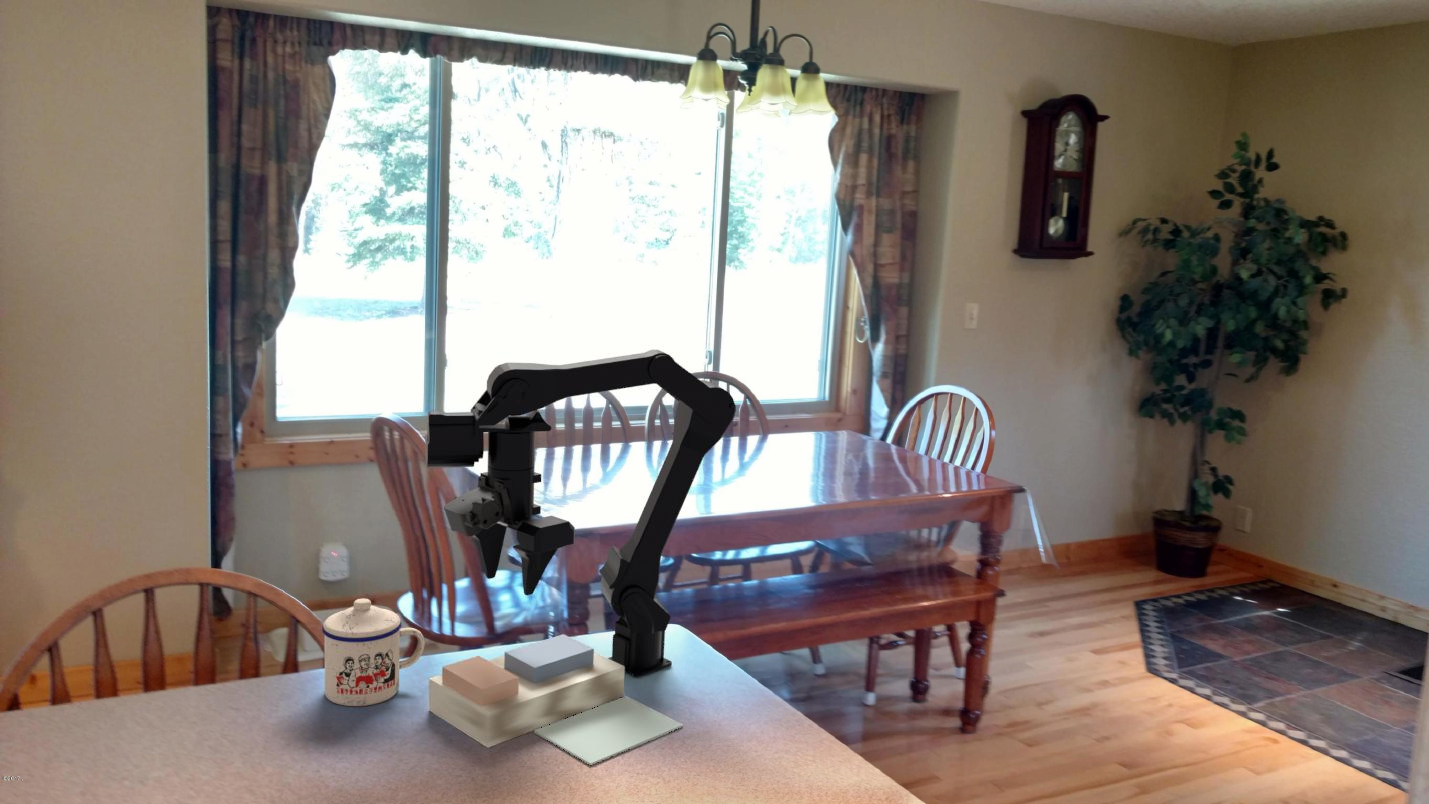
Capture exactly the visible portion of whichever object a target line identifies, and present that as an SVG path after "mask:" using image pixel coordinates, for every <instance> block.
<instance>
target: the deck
mask: <svg viewBox="0 0 1429 804" xmlns="http://www.w3.org/2000/svg"><path fill="white" fill-rule="evenodd" d="M608 658H609V657H605V656H604V655H601V654H600V653H597V652H595V651H594V660H593V664H592V665H589V666H586V667H583V668H580V669H577V670H574V671H571V672H568V673H565V674H562V675H559V676H556V677H553V678H550V679H547V680H544V681H541V682H538V683H535V684H534V683H532V682H530V681H528V680H526V679H524V678H523V677H521V676H519V675H517V674H515V673H513V672H511V671H510V670H508V669H506V668H504V655H502V656H498V657H495V658H492V659H489V660H488V659H487V660H488V661H489V662H491V663H493V664H495V665H497V666H499V667H501V668H502V669H504V670H506V671H508V672H510V673H512V674H513V675H515V676H517V677H519V689H518V694H516V695H513V696H510V697H507V698H505V699H502V700H499V701H496V702H493V703H490V704H487V705H484V706H480V705H479V704H477V703H475V702H474V701H472V700H470V699H469V698H467V697H465V696H464V695H462V694H460V693H458V692H457V691H455V690H453V689H452V688H450V687H448V686H447V685H445V684H443V683H442V674H438V675H435V676H433V677H430V678H428V711H430V712H431V713H432V714H434V715H435V716H436V717H438V718H440V719H442V720H444V721H445V722H446V723H448V724H450V725H451V726H453V727H454V728H456V729H458V730H459V731H461V732H462V733H464V734H466V735H467V736H469V737H470V738H471V739H473V740H475V741H477V742H478V743H480V744H481V745H482V746H484V747H486V748H490V747H494V746H495V745H499V744H501V743H504V742H506V741H509V740H512V739H515V738H517V737H519V736H520V737H521V736H523V735H526V734H528V733H530V732H533V731H534V730H537V729H539V728H541V727H545V726H547V725H549V724H553V723H555V722H558V721H559V720H560V721H561V720H562V719H565V718H567V717H568V718H569V717H571V716H573V715H575V714H576V715H577V714H579V713H581V712H585V711H587V710H590V709H592V708H594V707H595V708H596V707H597V706H601V705H604V704H606V703H608V702H610V701H611V702H612V701H613V700H615V699H620V697H624V693H625V689H624V688H625V672H624V671H625V666H623V665H620V664H618V663H616V662H614V661H612V660H610V659H608Z"/></svg>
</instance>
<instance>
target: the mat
mask: <svg viewBox="0 0 1429 804" xmlns="http://www.w3.org/2000/svg"><path fill="white" fill-rule="evenodd" d="M681 727H682V728H683V727H684V724H682V723H681V722H678V721H676V720H675V719H673V718H670V717H668V716H667V715H664V714H663V713H661V712H659V711H658V710H655V709H652V708H650V707H649V706H647V705H645V704H643V703H641V702H639V701H637V700H635V699H633V698H631V697H629V696H627V695H625V696H623V697H622V698H619V699H617V700H614V701H611V702H609V703H606V704H603V705H601V706H598V707H595V708H593V709H590V710H587V711H584V712H582V713H579V714H576V715H574V716H571V717H568V718H566V719H563V720H560V721H558V722H555V723H552V724H550V725H547V726H544V727H542V728H539V729H536V730H534V734H536V735H538V736H539V737H541V738H542V739H544V740H546V741H547V740H548V741H547V742H549V741H550V742H549V743H551V742H552V743H553V744H552V743H551V744H552V745H554V746H556V745H557V746H558V748H559V747H560V748H559V749H561V750H563V749H564V750H565V751H564V750H563V751H564V752H566V751H567V752H566V753H568V752H569V753H570V754H569V753H568V754H569V755H571V756H573V757H574V756H575V757H574V758H576V757H577V758H576V759H578V758H579V759H581V760H582V761H581V760H580V761H581V762H583V761H584V762H583V763H584V764H586V763H588V764H589V765H588V764H587V765H588V766H590V765H592V764H594V765H596V764H595V763H597V762H599V763H601V762H603V761H602V760H604V761H606V760H608V759H611V758H612V757H611V756H613V757H615V756H618V755H619V754H618V753H620V754H622V753H621V752H623V753H625V752H626V751H625V750H627V751H629V750H628V749H630V750H632V749H634V748H636V747H639V746H642V745H644V744H646V743H649V742H650V741H653V740H655V739H657V738H661V737H662V736H665V735H668V734H670V733H671V731H672V732H674V730H675V729H677V730H679V729H681ZM678 728H679V729H678ZM675 731H676V730H675ZM669 732H670V733H669ZM648 741H649V742H648ZM557 746H556V747H557ZM624 751H625V752H624ZM617 754H618V755H617ZM610 757H611V758H610ZM607 758H608V759H607ZM579 759H578V760H579ZM605 759H606V760H605ZM597 764H598V763H597ZM592 766H593V765H592Z"/></svg>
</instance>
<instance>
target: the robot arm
mask: <svg viewBox="0 0 1429 804" xmlns="http://www.w3.org/2000/svg"><path fill="white" fill-rule="evenodd" d="M646 385H657V386H659V388H661V389H662V390H663V391H665V392H666V394H668V395H670V396H671V397H672V398H673V399H675V400H676V401H678V404H677V406H676V411H675V416H674V424H673V436H672V442H671V445H670V447H669V450H668V452H667V454H666V456H665V458H664V461H663V464H662V466H661V468H660V471H659V473H658V475H657V477H656V480H655V482H654V485H653V487H652V489H651V490H650V491H651V492H650V493H649V495H648V498H647V500H646V503H645V505H644V507H643V510H642V511H641V514H640V516H639V518H638V521H637V524H636V525H635V529H634V531H633V533H632V534H631V537H630V538H629V540H628V541H627V542H626V543H625V544H624V545H623V546H622V547H621V548H620V549H619V548H618V547H616V546H615V545H611V546H610V548H609V551H608V554H607V557H606V561H605V563H604V564H603V566H602V567H601V568H600V569H599V571H598V572H599V574H600V576H601V580H600V588H601V591H602V593H603V595H604V598H605V599H606V601H607V602H608V604H609V606H610V607H611V609H612V611H613V612H614V613H615V614H616V615H618V616H620V617H619V619H618V620H617V621H615V622H614V625H615V626H614V634H612V647H611V649H612V650H611V656H610V657H607V658H608V659H610V660H612V661H614V662H616V663H618V664H620V665H623V666H625V671H624V673H625V674H628V675H630V676H632V677H634V678H641V677H643V676H647V675H649V674H653V673H654V672H657V671H658V672H659V671H661V670H663V669H665V668H668V667H671V666H672V663H673V662H672V660H669V659H668V658H665V641H666V640H665V639H666V638H665V637H666V635H665V634H666V630H667V628H668V625H669V623H670V621H671V614H669V612H668V610H667V609H666V607H665V606H664V605H663V604H662V603H661V601H660V600H659V598H658V597H657V596H656V595H657V594H656V593H657V590H658V585H659V582H660V581H659V580H660V572H661V571H660V570H661V562H662V561H661V559H662V555H663V552H664V549H665V546H666V544H667V542H668V540H669V537H670V535H671V533H672V531H673V528H674V526H675V524H676V521H677V520H678V519H677V518H678V516H679V515H680V512H681V511H682V510H681V509H682V508H683V505H684V503H685V501H686V498H687V496H688V494H689V491H690V489H691V487H692V485H693V482H694V480H695V478H696V476H697V473H698V472H699V469H700V466H701V464H702V462H703V460H704V458H705V456H706V454H708V453H709V451H711V450H712V449H713V448H714V446H716V445H717V443H719V442H720V440H721V439H722V438H723V436H724V434H725V433H726V431H727V430H728V428H729V426H730V425H731V424H732V422H733V420H734V419H735V416H736V411H737V406H736V404H735V401H734V400H735V399H733V396H732V395H731V394H730V392H728V390H725V389H724V388H722V387H721V386H718V385H717V384H715V383H713V382H711V381H708V380H705V379H699V378H698V377H696V376H695V375H694V374H692V373H691V372H689V371H688V370H687V369H686V368H684V366H683V367H682V366H681V365H680V364H679V363H678V362H676V361H675V359H674V358H673V357H672V356H671V355H670V354H668V353H666V352H664V351H662V350H659V349H649V350H647V351H645V352H640V353H634V354H627V355H621V356H620V355H619V356H613V357H606V358H602V359H601V358H599V359H593V360H586V361H585V360H584V361H580V362H572V363H565V364H546V363H545V364H544V363H537V362H535V363H534V362H504V363H501V364H498V365H497V366H495V367H494V368H493V369H492V371H491V372H490V374H489V375H488V377H487V380H486V390H484V392H483V393H482V395H481V396H480V397H479V398H478V400H477V401H476V402H475V403H474V405H473V406H472V407H471V409H470V412H444V411H438V410H434V411H428V412H427V425H426V426H427V427H426V434H425V435H424V436H425V438H424V440H425V441H424V443H425V444H424V445H425V446H424V447H425V450H424V451H425V453H424V454H425V466H426V469H441V468H442V469H445V468H449V469H450V468H473V467H475V463H479V461H480V459H481V460H482V459H483V458H484V449H485V444H484V442H485V440H484V439H485V438H484V437H485V436H484V434H485V433H487V471H485V472H480V476H478V480H477V481H478V483H477V487H476V488H474V489H472V490H468V491H466V492H464V493H462V494H461V495H459V496H454V498H453V500H451V501H449V502H447V503H446V504H445V505H444V506H443V510H444V513H445V515H446V518H447V521H448V523H449V524H448V525H449V527H450V530H451V531H452V532H458V533H461V534H463V536H465V537H467V538H468V537H471V538H472V539H473V541H474V544H475V547H476V549H477V553H478V555H479V559H480V561H481V566H482V569H483V572H484V574H485V577H486V579H488V580H491V579H494V578H495V577H496V575H497V571H498V569H499V565H500V560H501V556H502V550H503V545H504V540H505V537H506V533H507V528H508V529H511V530H514V531H516V540H517V542H518V544H516V545H512V549H514V551H515V552H516V553H517V554H518V555H520V560H521V577H522V578H521V579H522V588H523V593H524V595H525V596H530V595H533V593H534V592H535V590H536V588H537V586H538V585H539V584H540V581H541V578H542V576H543V575H544V573H545V571H546V569H547V567H548V565H549V564H550V562H551V560H552V559H553V557H554V556H555V554H556V553H557V551H558V549H560V548H563V547H567V546H570V545H574V544H575V527H576V526H574V525H573V524H572V523H571V522H570V521H569V520H565V519H563V518H560V517H558V516H554V515H548V516H543V517H537V518H534V519H532V518H533V516H536V515H541V514H542V513H541V510H542V506H541V505H539V504H536V503H534V501H535V497H534V496H535V484H537V483H542V474H541V473H539V472H535V455H536V453H535V452H536V451H535V448H536V446H535V445H536V432H550V431H551V430H552V429H553V428H552V426H551V425H550V423H549V422H548V421H547V420H546V419H544V418H543V416H542V414H541V412H540V411H539V410H540V409H543V408H545V407H546V408H547V407H548V406H551V405H552V404H555V403H556V402H559V401H561V400H563V399H564V400H565V399H567V398H570V397H578V396H584V395H589V394H596V393H603V392H609V391H616V390H621V389H629V388H634V387H642V386H646ZM528 413H529V414H528ZM526 414H528V415H526ZM504 419H505V420H504ZM503 420H504V421H503ZM502 421H503V422H502Z"/></svg>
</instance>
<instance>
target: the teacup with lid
mask: <svg viewBox="0 0 1429 804" xmlns="http://www.w3.org/2000/svg"><path fill="white" fill-rule="evenodd" d="M321 629H322V634H323V635H324V641H323V642H324V695H325V697H326V698H327V699H328V700H329V701H330V702H332V703H334V704H336V705H341V706H347V707H364V706H371V705H372V706H373V705H377V704H381V703H383V702H385V701H387V700H390V699H391V698H392V697H394V696H395V695H396V694H397V692H399V689H400V670H403V669H406V668H409V667H411V666H413V665H414V664H416V663H417V662H418V661H419V659H420V658H421V656H422V654H423V652H424V649H425V638H424V635H423V634H422V632H421V631H420V630H419V629H416V628H415V627H414V628H413V627H402V620H401V618H400V616H399V615H398V614H397V613H396V612H395V611H393V610H389V609H387V608H382V607H378V606H375V605H372V601H371V600H370V599H368V598H357V599H355V600H354V601H353V606H350V607H348V608H346V609H344V610H341V611H338V612H335V613H333V614H332V615H329V616H328V617H327V618H326V620H324V622H323V625H322V628H321ZM403 636H414V637H416V638H417V645H416V648H415V649H414V652H413V653H412V654H411V656H409V657H408V658H407V659H403V660H400V637H403Z"/></svg>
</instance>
